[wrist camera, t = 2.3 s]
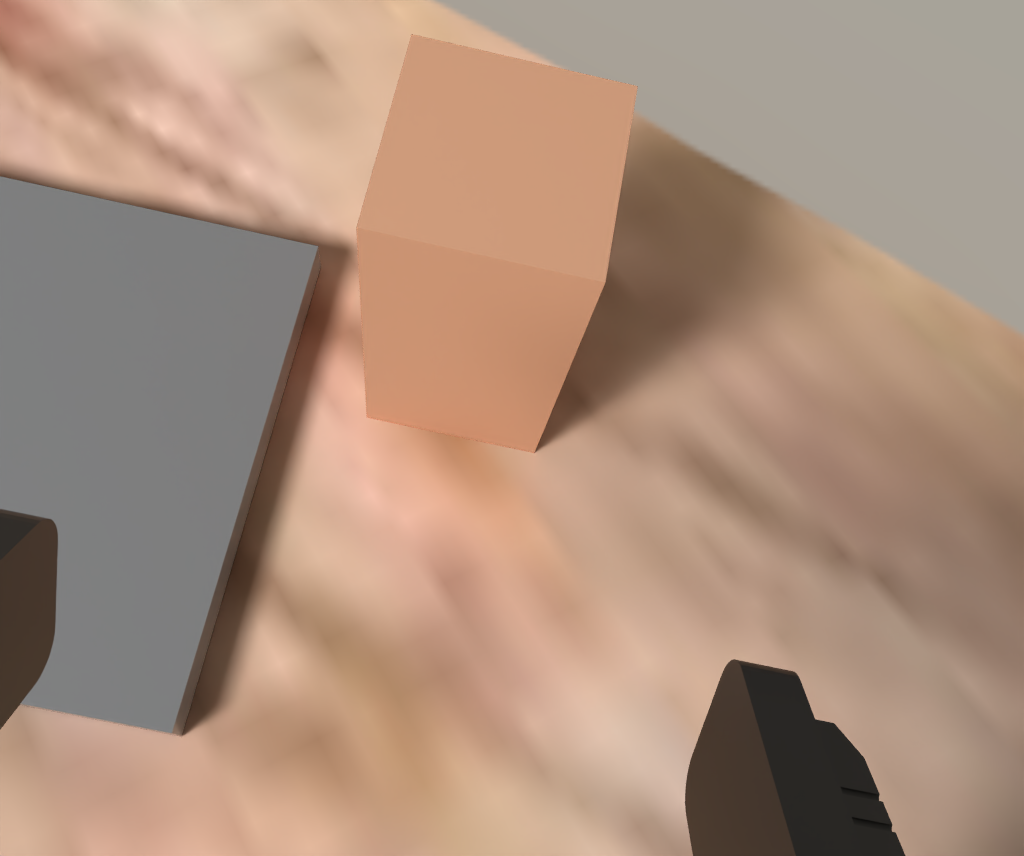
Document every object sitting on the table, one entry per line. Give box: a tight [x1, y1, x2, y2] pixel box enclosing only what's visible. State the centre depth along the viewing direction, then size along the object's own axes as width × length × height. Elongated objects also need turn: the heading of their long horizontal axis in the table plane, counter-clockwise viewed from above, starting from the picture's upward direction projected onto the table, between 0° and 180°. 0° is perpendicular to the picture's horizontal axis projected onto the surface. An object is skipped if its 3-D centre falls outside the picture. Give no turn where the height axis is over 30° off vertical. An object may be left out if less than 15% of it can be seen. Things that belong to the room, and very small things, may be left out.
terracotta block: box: [356, 34, 637, 453], centre depth 25 cm, size 5×5×10 cm
